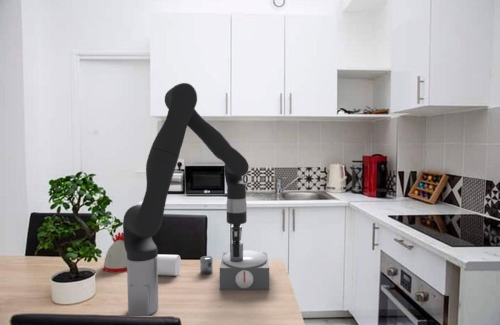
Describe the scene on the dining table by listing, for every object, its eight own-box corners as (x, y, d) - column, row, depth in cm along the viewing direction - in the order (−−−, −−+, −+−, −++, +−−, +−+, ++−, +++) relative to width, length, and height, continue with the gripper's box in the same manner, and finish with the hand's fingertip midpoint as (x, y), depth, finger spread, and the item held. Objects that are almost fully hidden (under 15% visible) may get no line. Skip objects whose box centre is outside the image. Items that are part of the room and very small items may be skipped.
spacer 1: (211, 274, 132) (211, 260, 132) (199, 274, 132) (199, 260, 132) (213, 270, 137) (213, 256, 137) (201, 270, 137) (201, 256, 137)
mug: (174, 278, 128) (174, 259, 128) (150, 277, 129) (150, 258, 129) (184, 267, 140) (183, 249, 140) (161, 266, 141) (161, 248, 141)
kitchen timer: (126, 273, 134) (125, 237, 133) (96, 271, 136) (96, 235, 136) (144, 262, 147) (143, 229, 147) (116, 259, 150) (116, 227, 149)
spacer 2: (243, 262, 121) (242, 246, 121) (229, 262, 121) (229, 246, 121) (243, 257, 126) (243, 242, 126) (230, 257, 126) (230, 242, 126)
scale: (269, 290, 118) (269, 266, 117) (219, 290, 118) (219, 266, 117) (266, 271, 135) (266, 250, 135) (223, 271, 135) (223, 250, 135)
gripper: (246, 213, 115) (246, 260, 116) (246, 206, 130) (246, 247, 131) (225, 214, 115) (225, 260, 116) (227, 206, 130) (228, 247, 131)
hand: (236, 253), depth 123 cm, fingers open, 6 cm apart
